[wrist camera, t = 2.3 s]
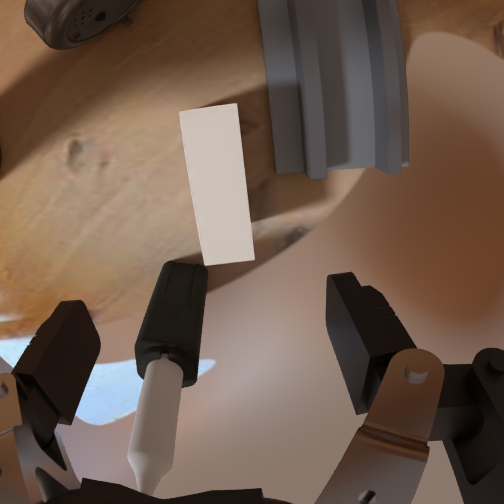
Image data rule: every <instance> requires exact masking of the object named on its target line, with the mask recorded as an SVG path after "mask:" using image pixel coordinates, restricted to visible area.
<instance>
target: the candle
mask: <svg viewBox="0 0 504 504" xmlns="http://www.w3.org/2000/svg"><path fill="white" fill-rule="evenodd" d="M207 279H208V272H207V269H206V268H205V267H204V266H202V265H200V264H196V265H189V264H181V263H175V262H174V261H169V262H166V263H165V264H164V265H163V267H162V270H161V273H160V275H159V278H158V281H157V283H156V286H155V289H154V291H153V294H152V297H151V300H150V302H149V305H148V308H147V311H146V314H145V317H144V320H143V322H142V325H141V328H140V331H139V335H138V337H137V341H136V343H135V357H136V365H137V372H138V375H139V376H140V377H141V378H142V379H144V381H143V385H142V390H141V394H140V398H139V402H138V407H137V411H136V416H135V420H134V425H133V430H132V434H131V439H130V444H129V449H128V460H129V463H130V465H131V466H132V468H133V470H134V472H135V476H136V481H137V486H138V491H139V492H141V493H144V494H147V495H150V496H152V495H153V493H154V491H155V489H156V487H157V485H158V483H159V481H160V479H161V478H162V477H163V476H164V475H165V474H166V473H167V472H168V471H169V470H170V469H171V468H172V465H173V457H174V448H175V438H176V429H177V420H178V412H179V403H180V396H181V388H184V387H189V386H192V385H194V384H195V383H196V381H197V375H198V365H199V353H200V344H201V334H202V325H203V316H204V307H205V299H206V289H207Z"/></svg>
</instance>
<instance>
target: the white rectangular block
mask: <svg viewBox="0 0 504 504" xmlns="http://www.w3.org/2000/svg"><path fill="white" fill-rule="evenodd" d="M179 117H180V124H181V131H182V138H183V145H184V151H185V158H186V164H187V170H188V176H189V182H190V188H191V194H192V200H193V206H194V212H195V217H196V223H197V228H198V234H199V239H200V244H201V249H202V255H203V260H204V265H205V266H207V265H216V264H224V263H233V262H242V261H250V260H255V257H254V248H253V239H252V231H251V222H250V213H249V204H248V196H247V187H246V178H245V169H244V161H243V152H242V143H241V135H240V126H239V117H238V108H237V103H235V104H226V105H219V106H211V107H204V108H198V109H192V110H186V111H180V112H179Z"/></svg>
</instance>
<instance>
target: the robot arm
mask: <svg viewBox="0 0 504 504" xmlns="http://www.w3.org/2000/svg"><path fill="white" fill-rule="evenodd" d="M0 163H1V155H0ZM326 326H327V331H328V334H329V338H330V340H331V343H332V346H333V349H334V351H335V354H336V357H337V360H338V363H339V366H340V368H341V371H342V374H343V377H344V379H345V383H346V386H347V388H348V392H349V394H350V398H351V400H352V403H353V406H354V409H355V412H356V415H359V414H364V413H368V414H367V416H366V418H365V421H364V422H363V424H362V426H361V427H359V429H358V430H357V432H356V433H355V435H354V437H353V439H352V441H351V443H350V444H349V446H348V448H347V450H346V452H345V453H344V456H343V457H342V459H341V461H340V463H339V464H338V466H337V468H336V470H335V471H334V473H333V475H332V476H331V478H330V480H329V481H328V483H327V484H326V486H325V488H324V489H323V491H322V493H321V494H320V496H319V497H318V499H317V500H316V502H315V503H314V504H411V502H412V500H413V498H414V495H415V493H416V490H417V488H418V485H419V482H420V479H421V477H422V474H423V471H424V468H425V466H426V463H427V460H428V456H429V451H430V448H429V446H427V443H428V441H439V440H442V441H443V444H444V447H445V449H446V452H447V455H448V457H449V460H450V463H451V466H452V468H453V471H454V474H455V477H456V480H457V483H458V486H459V489H460V492H461V496H462V498H463V502H464V504H504V350H501V349H498V348H486V349H483V350H481V351H480V352H478V353H477V354H476V356H475V358H474V360H473V362H472V364H455V365H454V364H452V365H448V364H442V362H441V361H440V359H439V358H438V357H437V356H435V355H434V354H432V353H431V352H429V351H426V350H423V349H417V347H416V345H415V344H414V342H413V341H412V339H411V337H410V336H409V334H408V333H407V331H406V329H405V328H404V326H403V325H402V323H401V322H400V320H399V318H398V317H397V316H395V312H394V311H393V309H392V308H391V307H390V306H389V303H388V302H387V300H386V299H385V297H384V296H383V294H382V293H380V292H379V291H377V290H376V289H374V288H373V287H371V286H362V287H361V285H360V283H359V282H358V280H357V279H356V277H355V275H354V274H353V273H352V272H346V273H339V274H331V275H328V276H327V288H326ZM29 344H30V345H28V346H27V348H26V349H25V351H24V352H23V354H22V356H21V357H20V359H19V361H18V362H17V364H16V366H15V367H14V369H13V371H12V372H11V374H10V373H1V374H0V504H292V503H289V502H286V501H281V500H277V499H271V498H264V496H263V493H262V489H261V488H256V489H241V490H212V491H207V492H202V493H198V494H193V495H187V496H182V497H176V498H170V499H159V498H155V497H153V496H150V495H147V494H144V493H141V492H138V491H135V490H133V489H131V488H128V487H125V486H123V485H120V484H115V483H109V482H103V481H97V480H92V479H87V478H82V483H80V482H79V480H78V479H77V477H76V475H75V473H74V471H73V468H72V466H71V463H70V461H69V458H68V455H67V453H66V450H65V447H64V445H63V442H62V439H61V436H60V434H59V432H58V431H57V430H56V429H55V428H56V426H57V423H59V424H65V425H71V424H72V422H73V419H74V416H75V413H76V410H77V408H78V405H79V402H80V400H81V397H82V395H83V392H84V389H85V387H86V384H87V382H88V379H89V377H90V374H91V372H92V369H93V367H94V365H95V362H96V360H97V357H98V355H99V353H100V347H101V342H100V337H99V334H98V332H97V330H96V328H95V326H94V323H93V321H92V319H91V317H90V315H89V312H88V310H87V308H86V305H85V304H84V302H83V301H81V300H70V301H61V302H60V303H59V304H58V306H57V307H56V309H55V310H54V312H53V313H52V315H51V316H50V318H48V319H47V320H46V321H45V322H44V323H43V324H42V325H41V326H40V327H39V329H38V330H37V332H36V334H35V337H33V338H32V340H31V341H30V343H29Z"/></svg>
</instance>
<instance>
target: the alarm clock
mask: <svg viewBox="0 0 504 504" xmlns="http://www.w3.org/2000/svg"><path fill="white" fill-rule="evenodd" d="M140 2H141V0H26V3H25V8H24V17H25V20H26V23H27V24H28V25H29V26H30V27H32V29H33V30H34V31H35V32H36V33H37V34H38V35H39V37H40V38H41V39H42V40H43V41H44V42H45V44H47V45H48V46H49V47H50V48H53V49H57V50H66V49H71V48H75V47H78V46H81V45H83V44H85V43H87V42H89V41H91V40H93V39H95V38H96V37H98V36H100V35H101V34H103V33H104V32H106V31H107V30H109V29H110V28H111V27H113V26H114V25H115V24H117V23H118V22H119V21H121V22H122V23H123V24H125V25H126V26H130V25H131V24H132V20H130V19H129V18H128V17H127V14H128V13H130V12H131V11H132V10H133V9H134V8H135V7H136V6H137V5H138V4H139V3H140Z"/></svg>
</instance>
